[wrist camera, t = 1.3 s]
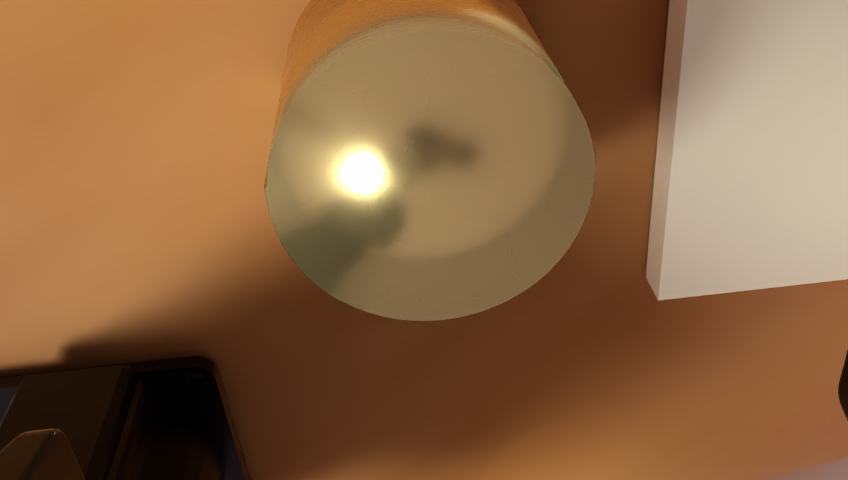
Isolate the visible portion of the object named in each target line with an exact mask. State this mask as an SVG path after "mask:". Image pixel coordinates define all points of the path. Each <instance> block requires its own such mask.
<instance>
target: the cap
mask: <svg viewBox="0 0 848 480" xmlns="http://www.w3.org/2000/svg"><path fill="white" fill-rule="evenodd" d="M595 158H596V152H595V150H594V148H593V144H592V139H591V135H590V132H589V129H588V126H587V123H586V120H585V118H584V116H583V114H582V112H581V110H580V108H579V107H578V105H577V103H576V101H575V99H574V97H573V96H572V94H571V92H570V91H569V89H568V87H567V86H566V84H565V82H564V81H563V79H562V77H561V76H560V74H559V72H558V71H557V69H556V67H555V65H554V64H553V62H552V60H551V59H550V57H549V55H548V54H547V52H546V50H545V49H544V47H543V45H542V44H541V42H540V40H539V39H538V37H537V35H536V33H535V32H534V30H533V28H532V27H531V25H530V23H529V22H528V20H527V18H526V17H525V15H524V13H523V12H522V10H521V8H520V7H519V5H518V4H517V2H516V1H515V0H310V2H309V3H308V5H307V6H306V8H305V9H304V11H303V12H302V14H301V16H300V18H299V20H298V22H297V24H296V26H295V28H294V31H293V34H292V38H291V41H290V44H289V49H288V54H287V60H286V66H285V71H284V77H283V82H282V88H281V94H280V99H279V105H278V111H277V116H276V122H275V128H274V133H273V139H272V145H271V150H270V156H269V162H268V167H267V173H266V179H265V184H264V191H265V196H266V200H267V205H268V210H269V214H270V219H272V221H273V224H274V227H275V230H276V232H277V234H278V236H279V238H280V241H281V243H282V245H283V246H284V248H285V249H286V251H287V253H288V254H289V256H290V257H291V259H292V260H293V261H294V263H295V264H296V265H297V266H298V267H299V268H300V270H301V271H302V272H303V273H304V274H305V275H306V276H307V277H308V278H309V279H310V280H312V281H313V282H314V283H315V284H316V285H317V286H318V287H320V288H321V289H323V290H324V291H326V292H327V293H328V294H330V295H331V296H333V297H334V298H336V299H338V300H340V301H342V302H344V303H346V304H348V305H350V306H352V307H355V308H357V309H360V310H362V311H365V312H368V313H371V314H375V315H379V316H383V317H387V318H393V319H400V320H411V321H434V320H446V319H453V318H459V317H464V316H468V315H471V314H475V313H479V312H482V311H485V310H487V309H490V308H492V307H495V306H498V305H500V304H502V303H504V302H506V301H508V300H510V299H512V298H514V297H516V296H517V295H519V294H520V293H522V292H523V291H525V290H527V289H528V288H530V287H531V286H533V285H534V284H535V283H536V282H537V281H539V280H540V279H541V278H542V277H543V276H545V275H546V274H547V273H548V272H549V271H550V270H551V269H552V268H553V267H554V266H555V265H556V264H557V263H558V262H559V261H560V260H561V258H562V257H563V256H564V254H565V253H566V252H567V250H568V249H569V248H570V246H571V245H572V243H573V242H574V240H575V238H576V236H577V235H578V233H579V231H580V230H581V228H582V225H583V223H584V220H585V218H586V215H587V213H588V210H589V207H590V203H591V199H592V195H593V189H594V183H595Z"/></svg>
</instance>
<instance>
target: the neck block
mask: <svg viewBox="0 0 848 480" xmlns="http://www.w3.org/2000/svg"><path fill="white" fill-rule="evenodd" d="M646 279H647V281H648V283H649V284H650V286H651V288H652V290H653V292H654V294H655V296H656V298H657V299H658V301H659V300H668V299H677V298H685V297H694V296H703V295H712V294H721V293H730V292H739V291H747V290H756V289H765V288H774V287H783V286H792V285H801V284H809V283H818V282H827V281H836V280H845V279H848V0H669V12H668V23H667V35H666V46H665V58H664V70H663V81H662V93H661V105H660V116H659V128H658V139H657V151H656V163H655V174H654V186H653V197H652V209H651V221H650V232H649V244H648V256H647V267H646Z"/></svg>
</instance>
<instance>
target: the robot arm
mask: <svg viewBox="0 0 848 480" xmlns="http://www.w3.org/2000/svg"><path fill="white" fill-rule="evenodd" d="M191 374H200V375H202V376H204V377H202V378H195V377H193V376H191ZM838 394H839V400H840V404H841V406H842V409H843V411H844V413H845V416H846V418H847V420H848V351H847V355H846V358H845V362H844V366H843V370H842V374H841V378H840V381H839V387H838ZM0 480H250V478H249V474H248V471H247V468H246V464H245V461H244V457H243V454H242V450H241V447H240V443H239V440H238V437H237V433H236V430H235V426H234V423H233V419H232V416H231V412H230V409H229V406H228V402H227V399H226V395H225V392H224V388H223V385H222V381H221V378H220V375H219V371H218V368H217V366H216V365H215V363H214V362H213V361H211V360H210V359H208V358H205V357H202V356H190V357H181V358H172V359H163V360H154V361H146V362H137V363H128V364H119V365H110V366H101V367H92V368H84V369H75V370H66V371H57V372H48V373H39V374H31V375H22V376H13V377H4V378H0Z"/></svg>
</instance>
